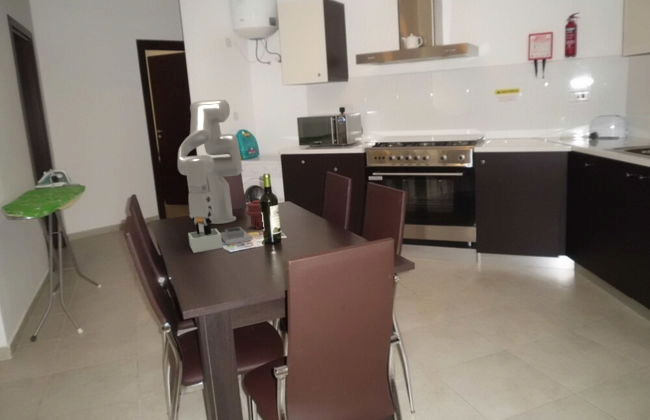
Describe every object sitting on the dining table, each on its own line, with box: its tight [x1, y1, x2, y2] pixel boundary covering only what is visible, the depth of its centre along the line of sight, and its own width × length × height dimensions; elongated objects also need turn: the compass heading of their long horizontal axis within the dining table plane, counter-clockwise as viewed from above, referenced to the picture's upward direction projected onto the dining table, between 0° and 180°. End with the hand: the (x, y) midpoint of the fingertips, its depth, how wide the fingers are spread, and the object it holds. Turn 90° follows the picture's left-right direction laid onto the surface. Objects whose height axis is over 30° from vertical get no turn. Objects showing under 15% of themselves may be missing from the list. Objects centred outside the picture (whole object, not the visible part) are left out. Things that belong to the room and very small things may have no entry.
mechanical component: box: [246, 199, 264, 230], centre depth 228 cm, size 12×10×10 cm
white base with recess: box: [219, 226, 251, 245], centre depth 212 cm, size 14×10×4 cm
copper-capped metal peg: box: [196, 217, 209, 237], centre depth 202 cm, size 5×5×10 cm
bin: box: [187, 228, 223, 254], centre depth 203 cm, size 11×11×6 cm
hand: (204, 233), depth 202 cm, fingers closed on copper-capped metal peg, 3 cm apart
